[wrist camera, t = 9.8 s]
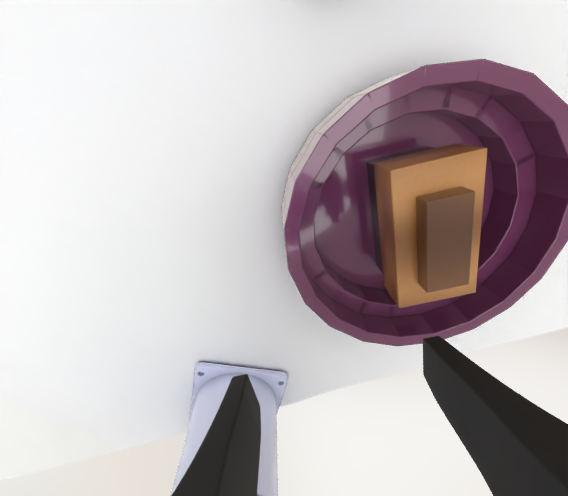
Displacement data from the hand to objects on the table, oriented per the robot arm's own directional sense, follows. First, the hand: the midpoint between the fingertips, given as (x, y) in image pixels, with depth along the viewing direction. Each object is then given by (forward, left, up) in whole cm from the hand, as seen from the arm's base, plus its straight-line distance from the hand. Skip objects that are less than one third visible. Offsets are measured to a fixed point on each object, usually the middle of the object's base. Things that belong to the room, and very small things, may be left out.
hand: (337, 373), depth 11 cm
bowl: (+5, -5, -10) cm, 12 cm away
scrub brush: (+5, -5, -9) cm, 12 cm away
